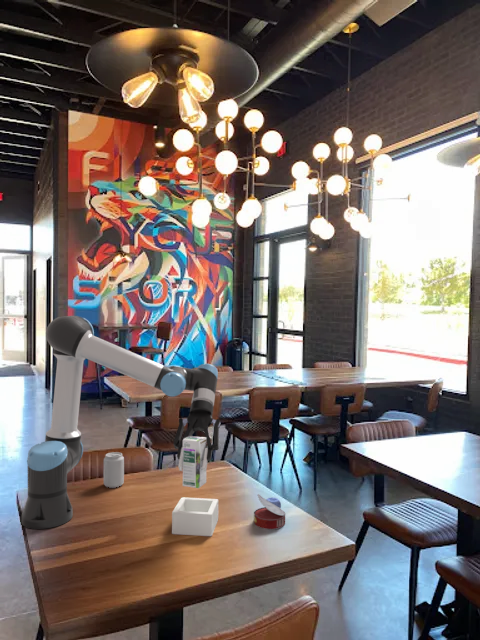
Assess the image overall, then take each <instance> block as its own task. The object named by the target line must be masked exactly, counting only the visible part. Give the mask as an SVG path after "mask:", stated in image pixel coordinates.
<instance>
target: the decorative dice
mask: <svg viewBox="0 0 480 640" xmlns="http://www.w3.org/2000/svg"><path fill="white" fill-rule="evenodd" d="M266 500H267V501H269V502H271V503H272V504H274V505H276V506H277V507H279V508H280V509H282V508H281V507H282V503H281V501H280V499H279V498H277V497H268V498H266Z"/></svg>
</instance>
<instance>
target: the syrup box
mask: <svg viewBox="0 0 480 640" xmlns="http://www.w3.org/2000/svg"><path fill="white" fill-rule="evenodd" d="M205 448H207V441H206V437H205V436H193V435H192V436H188V437H186V438H185V439H183V469H182V487H189V488H195V489H200V488H202V487H203V486H204V485H206V484H207V471H206V472H204V471H203V468H202V467H203V460H204V453H205Z"/></svg>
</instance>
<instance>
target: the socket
mask: <svg viewBox="0 0 480 640" xmlns="http://www.w3.org/2000/svg"><path fill="white" fill-rule="evenodd" d="M218 520H219V499H218V498H206V497H205V498H202V497H187V496H186V497H184V496H183V497H182V496H181V498H180V499H179V501H178V502H177V504H176V506H175V507H174V509H173V510H172V512H171V534H172V535H184V536H185V535H186V536H202V537H213V534H214V531H215V529H216V526H217V524H218V522H219V521H218Z"/></svg>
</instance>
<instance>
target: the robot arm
mask: <svg viewBox="0 0 480 640" xmlns="http://www.w3.org/2000/svg"><path fill="white" fill-rule="evenodd" d="M94 331H95V330H94V327H93V325H92V323H91V322H90V321H89V320H88V319H87V318H85V317H82V316H79V315H68V316H67V315H65V316H64V315H63V316H58V317H56V318H54V319H53V320H52V321H51V322H49V324H48V326H47V328H46V332H45V337H46V341H47V342H48V344H49V346H50V347H51V348H53V351H52V353H53V356H54V357H55V358H56V360H57V361H56V362H57V363H56V371H55V372H56V373H55V379H54V381H55V383H54V391H53V392H54V393H53V403H52V404H53V405H52V413H51V414H52V415H51V426H50V429H48V430H47V431H46V432H45V439H44V441H42V442H40V443H36V444H35V445H33V446H32V447H30V448H29V450H28V453H27V459H26V463H27V498H26V502H25V505H24V508H23V511H22V513H21V525H22V526H23V527H25V528H28V529H33V530H34V529H35V530H44V529H51V528H55V527H59V526H62V525H64V524H66V523H68V522H69V521H71V520H72V518H73V511H74V509H73V505H72V504H71V501H70V498H69V497H70V496H69V495H68V473H70V472H71V471H72V469H74V468H75V467H76V466H77V465H78V464H79V463H80V461H81V459H82V457H83V454H84V445H83V443H82V432H81V431H80V430H79V429H78V424H79V414H80V405H81V404H80V402H81V391H82V380H83V371H84V361H85V360H86V359H87V360H89V361H91V362H93V363H96V364H98V365H101V366H103V367H105V368H107V369H110V370H112V371H115V372H118V373H120V374H122V375H125V376H126V377H129V378H131V379H135V380H136V381H139V382H142V383H143V384H146V385H148V386H151V387H153V388H155V389H157V390H159V391H161V392H162V393H163V394H164V395H166V396H168V397H177V396H179V395H181V394H182V393H183V392H184V391H185V390H186V391H192V392H193V394H192V398H191V404H190V408H189V414H188V416H187V418H182V417H179V419H178V427H177V430H176V433H175V437H174V440H173V442H172V443H173V447H174V449H175V450H177V455H176V457H177V460H179V461H178V466H177V467H178V471H181V472H183V439H185V438H186V437H188V436H193V434H194V433H195V432H198V431H200V432H204V435H205V436H204V437H206V446H207V447H206V448H205V453H204V460H203V467H202V468H203V471H204V472H206V473H207V468H208V461H209V462H210V461H211V460H212V455H213V451H218V450H219V448H220V447H219V445H220V443H219V441H220V440H219V439H220V436H219V435H220V434H219V433H220V431H219V430H220V427H221V424H222V423H221V420H220V418H217V419H214V418H213V413H214V406H215V401H216V400H215V399H216V393H217V391H216V390H217V386H218V379H219V378H218V376H219V373H218V369H217V367H216V365H213V364H210V363H204V364H200V365H198V367H197V369H196V368H195V369H194V368H189V367H180V366H175V365H164V364H161V363H158V362H156V361H154V360H152V359H149V358H146V357H144V356H143V355H139V354H137V353H135V352H132V351H130V350H129V349H126V348H123V347H121V346H118V345H116V344H114V343H112V342H110V341H107V340H105V339H102V338H100V337H97V336H95V332H94ZM187 424H188V427H187V430H186V432H185V433H184V431H185V427H186V425H187ZM211 425H212V426H213V443H212V442H211V439H210V438H211V437H210V435H209V434H210V433H209V431H208V428H209V427H210V426H211ZM183 433H184V435H183ZM182 436H183V437H182Z"/></svg>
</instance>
